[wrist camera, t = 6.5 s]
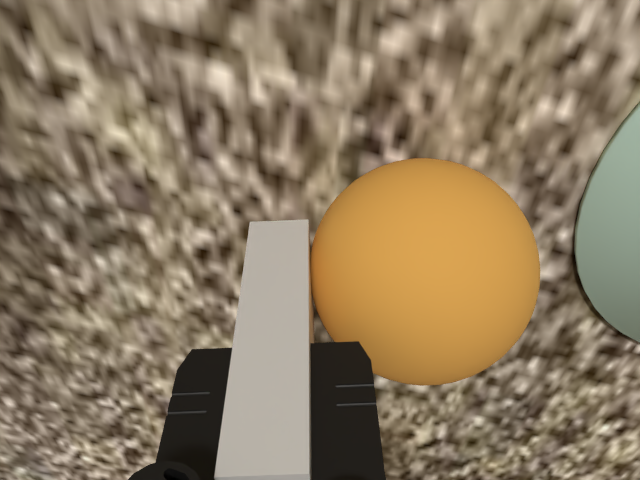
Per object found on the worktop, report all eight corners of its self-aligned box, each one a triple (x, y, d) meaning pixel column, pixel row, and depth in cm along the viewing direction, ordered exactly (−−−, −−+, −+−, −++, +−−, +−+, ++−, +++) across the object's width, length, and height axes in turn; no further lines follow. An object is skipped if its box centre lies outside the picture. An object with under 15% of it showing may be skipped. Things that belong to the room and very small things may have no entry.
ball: (422, 173, 18) (597, 242, 14) (340, 327, 18) (497, 429, 15) (335, 93, 13) (563, 169, 10) (227, 300, 13) (418, 440, 10)
